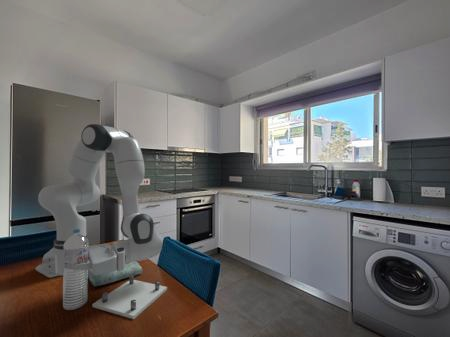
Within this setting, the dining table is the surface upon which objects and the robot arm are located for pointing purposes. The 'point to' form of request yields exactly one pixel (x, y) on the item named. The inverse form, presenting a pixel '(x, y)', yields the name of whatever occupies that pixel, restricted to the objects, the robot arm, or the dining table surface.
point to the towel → (115, 274)
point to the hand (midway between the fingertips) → (72, 263)
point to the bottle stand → (130, 298)
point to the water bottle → (75, 280)
